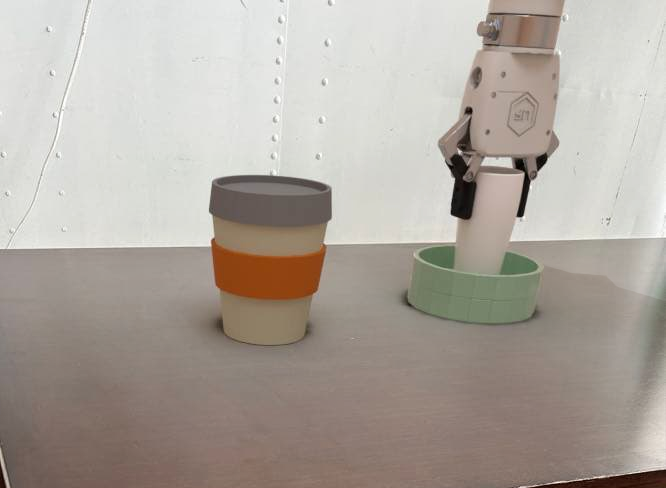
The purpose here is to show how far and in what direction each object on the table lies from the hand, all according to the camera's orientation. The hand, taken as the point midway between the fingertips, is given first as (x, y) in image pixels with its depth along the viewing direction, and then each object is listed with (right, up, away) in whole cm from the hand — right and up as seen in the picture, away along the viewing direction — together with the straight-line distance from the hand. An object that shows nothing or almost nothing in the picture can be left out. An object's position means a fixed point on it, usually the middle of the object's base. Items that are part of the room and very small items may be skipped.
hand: (486, 215), depth 95 cm
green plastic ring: (-1, -9, +6) cm, 11 cm away
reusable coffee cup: (-26, -15, -5) cm, 30 cm away
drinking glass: (0, -9, +5) cm, 10 cm away
